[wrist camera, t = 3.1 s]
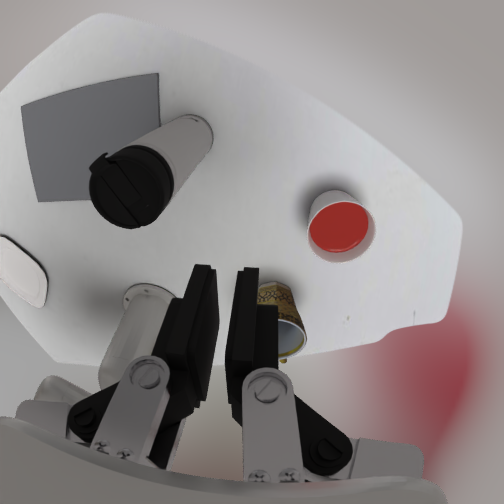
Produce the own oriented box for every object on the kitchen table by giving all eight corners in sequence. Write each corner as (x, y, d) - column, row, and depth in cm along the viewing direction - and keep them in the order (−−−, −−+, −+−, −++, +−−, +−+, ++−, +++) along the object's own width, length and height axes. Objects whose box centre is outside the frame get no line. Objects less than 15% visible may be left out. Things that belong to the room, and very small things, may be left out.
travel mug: (196, 103, 33) (124, 134, 16) (222, 145, 36) (178, 213, 19) (158, 128, 35) (69, 182, 18) (183, 167, 38) (118, 248, 21)
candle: (337, 248, 44) (345, 273, 38) (289, 219, 41) (292, 242, 36) (375, 204, 39) (389, 226, 34) (327, 169, 37) (337, 187, 32)
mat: (166, 197, 40) (165, 199, 40) (40, 200, 41) (38, 202, 41) (158, 73, 30) (156, 73, 30) (23, 105, 31) (20, 106, 31)
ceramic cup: (236, 280, 48) (229, 325, 40) (295, 267, 46) (299, 313, 38) (259, 330, 55) (256, 373, 47) (310, 320, 53) (314, 364, 44)
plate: (46, 310, 59) (43, 315, 58) (-2, 272, 54) (-5, 276, 53) (53, 268, 51) (49, 273, 49) (-1, 224, 45) (-6, 228, 44)
